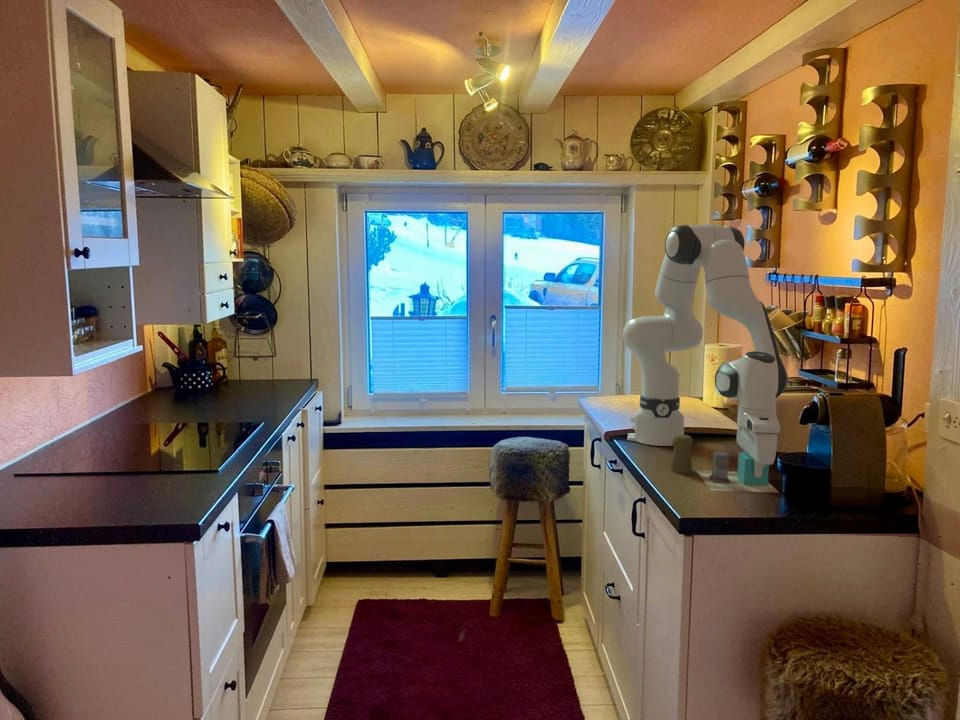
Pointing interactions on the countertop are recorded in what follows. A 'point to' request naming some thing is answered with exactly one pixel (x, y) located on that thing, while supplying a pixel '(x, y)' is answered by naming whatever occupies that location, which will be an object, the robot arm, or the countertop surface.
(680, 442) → the cork
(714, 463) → the stand
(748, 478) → the teal rounded cube
